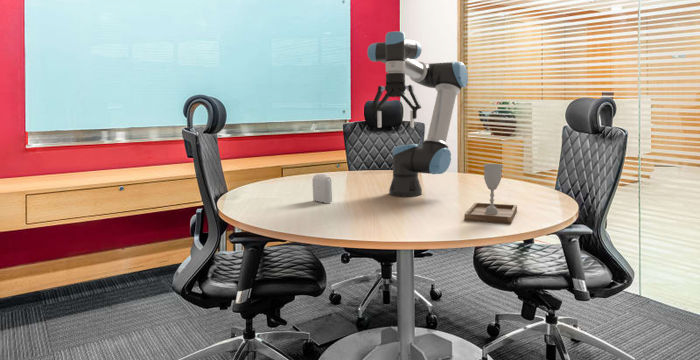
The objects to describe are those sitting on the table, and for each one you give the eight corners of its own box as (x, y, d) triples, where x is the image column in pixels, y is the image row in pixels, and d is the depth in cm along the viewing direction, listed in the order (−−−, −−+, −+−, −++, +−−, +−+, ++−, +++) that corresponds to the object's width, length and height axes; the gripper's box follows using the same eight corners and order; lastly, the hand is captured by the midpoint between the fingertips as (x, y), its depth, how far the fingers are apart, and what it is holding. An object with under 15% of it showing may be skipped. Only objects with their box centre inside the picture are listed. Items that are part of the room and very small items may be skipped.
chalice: (486, 215, 185) (488, 166, 182) (478, 211, 191) (479, 164, 189) (504, 214, 186) (506, 165, 183) (496, 210, 193) (498, 163, 190)
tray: (474, 208, 202) (475, 202, 202) (516, 211, 196) (517, 205, 195) (464, 220, 182) (464, 214, 182) (510, 223, 176) (510, 217, 175)
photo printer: (311, 201, 225) (310, 173, 223) (319, 199, 228) (318, 172, 226) (325, 204, 217) (324, 175, 215) (333, 202, 220) (332, 174, 218)
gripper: (362, 73, 199) (363, 127, 202) (423, 70, 189) (423, 127, 192) (369, 74, 206) (369, 126, 209) (429, 71, 196) (428, 126, 199)
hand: (395, 127), depth 201 cm, fingers open, 13 cm apart
